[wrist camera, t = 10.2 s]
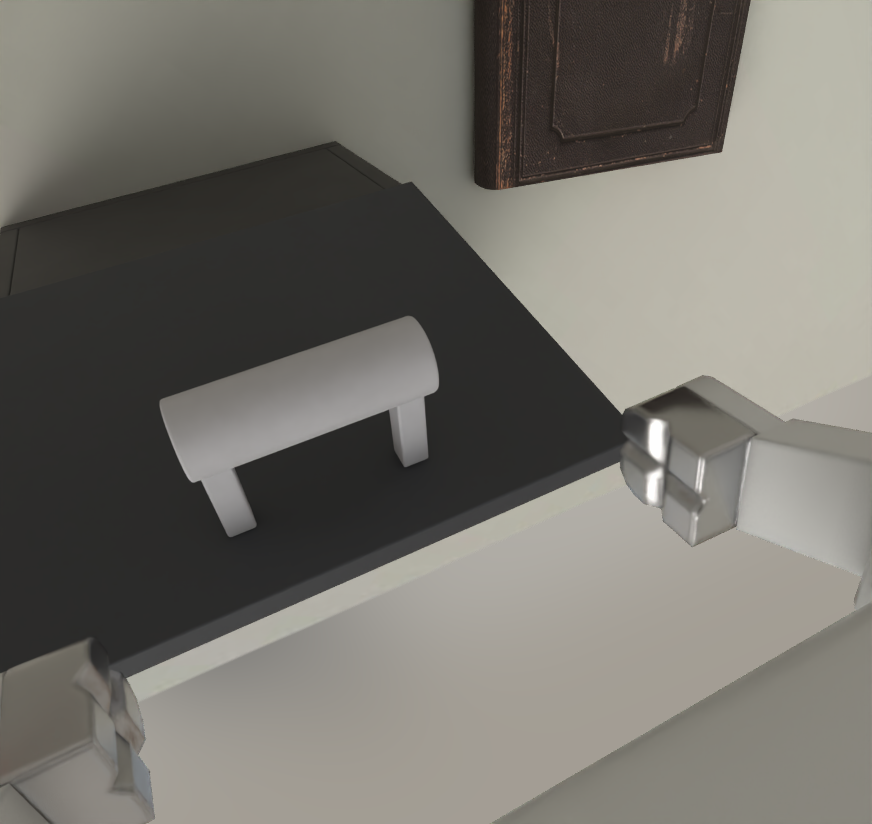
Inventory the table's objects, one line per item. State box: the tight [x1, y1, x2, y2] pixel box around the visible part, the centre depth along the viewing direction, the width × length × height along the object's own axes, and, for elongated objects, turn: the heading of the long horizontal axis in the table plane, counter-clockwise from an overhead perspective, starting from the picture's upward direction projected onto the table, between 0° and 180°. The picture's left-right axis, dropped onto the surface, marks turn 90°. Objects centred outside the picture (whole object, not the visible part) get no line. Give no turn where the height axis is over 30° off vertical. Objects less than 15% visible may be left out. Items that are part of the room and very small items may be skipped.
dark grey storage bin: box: [0, 141, 401, 298], centre depth 33 cm, size 14×16×9 cm
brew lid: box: [0, 182, 628, 678], centre depth 19 cm, size 14×16×5 cm
